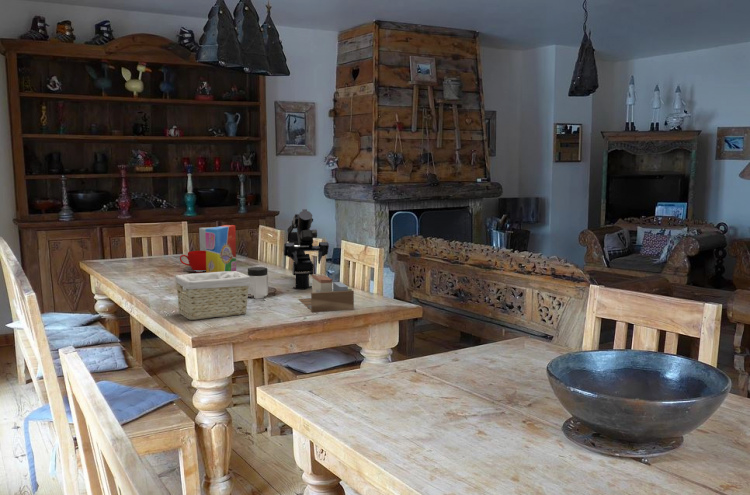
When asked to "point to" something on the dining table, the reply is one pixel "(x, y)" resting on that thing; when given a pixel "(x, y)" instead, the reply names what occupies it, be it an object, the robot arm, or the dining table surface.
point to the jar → (258, 282)
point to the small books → (340, 287)
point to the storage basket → (212, 294)
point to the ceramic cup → (196, 260)
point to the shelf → (330, 301)
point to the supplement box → (203, 238)
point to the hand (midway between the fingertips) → (308, 263)
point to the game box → (220, 249)
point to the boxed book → (321, 283)
